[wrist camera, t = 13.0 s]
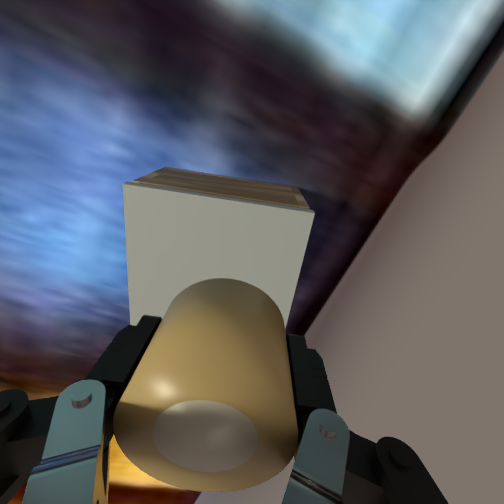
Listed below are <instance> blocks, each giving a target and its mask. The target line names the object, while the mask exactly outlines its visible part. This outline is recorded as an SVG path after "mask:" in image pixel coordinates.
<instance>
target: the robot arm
mask: <svg viewBox="0 0 504 504" xmlns="http://www.w3.org/2000/svg"><path fill="white" fill-rule="evenodd" d="M161 321H162V318H161V317H159V316H151V315H143V316H142V317H141V319H140V321H139V322H138V324H137V325H136V326H134V325H128V326H127V327H125V328H124V329H122V330H121V331H119V332H118V333H117V335H116V336H115V338H114V339H113V340H112V343H110V344H109V346H108V347H107V349H106V351H104V353H103V354H102V356H101V357H100V358H99V360H98V361H97V363H96V364H95V365H94V367H93V368H92V369H91V371H90V372H89V374H88V375H87V376H86V378H85V379H84V380H83V381H79V382H76V383H74V384H72V385H71V386H69V387H68V388H66V389H65V390H64V391H63V392H62V393H61V394H60V395H59V396H55V397H50V398H43V399H37V400H30V401H29V400H28V396H27V394H26V393H25V392H24V391H21V390H15V389H12V390H5V391H1V392H0V504H7V503H8V502H9V501H10V500H11V499H12V497H13V496H14V495H15V494H16V493H17V492H18V490H19V489H20V488H21V487H22V486H23V485H24V483H25V482H26V481H27V480H28V479H29V480H28V484H27V488H26V491H25V495H24V498H23V502H22V504H107V499H108V482H109V464H110V447H111V443H110V441H111V439H112V437H113V435H114V430H113V417H114V412H115V409H116V407H117V405H118V402H119V400H120V399H121V397H122V395H123V393H124V391H125V389H126V387H127V385H128V383H129V382H130V380H131V378H132V376H133V374H134V372H135V370H136V368H137V366H138V364H139V363H140V361H141V359H142V357H143V355H144V353H145V351H146V349H147V347H148V346H149V344H150V342H151V340H152V338H153V336H154V334H155V332H156V330H157V329H158V327H159V325H160V323H161ZM286 340H287V348H288V356H289V364H290V372H291V379H292V387H293V395H294V403H295V411H296V419H297V427H298V444H297V449H296V451H295V454H294V459H295V462H294V465H293V469H292V472H291V475H290V478H289V482H288V485H287V488H286V491H285V494H284V498H283V501H282V504H448V502H447V500H446V499H445V498H444V496H443V494H442V493H441V491H440V490H439V488H438V487H437V485H436V483H435V482H434V480H433V479H432V477H431V476H430V474H429V472H428V471H427V469H426V468H425V466H424V465H423V463H422V462H421V460H420V459H419V457H418V455H417V454H416V453H415V452H414V451H413V449H411V448H410V447H409V446H408V445H407V444H405V443H404V442H402V441H401V440H399V439H396V438H393V437H383V438H381V439H380V440H379V441H378V442H377V443H374V442H372V441H370V440H368V439H365V438H363V437H361V436H359V435H357V434H355V433H353V432H352V431H350V430H349V429H348V426H347V424H346V423H345V421H344V420H343V419H342V418H341V417H340V416H339V415H338V414H337V412H336V408H335V404H334V401H333V397H332V393H331V389H330V386H329V383H328V380H327V375H326V371H325V367H324V364H323V360H322V358H321V357H320V355H319V354H318V353H317V351H316V350H315V349H307V345H306V341H305V337H304V336H300V335H293V334H287V336H286Z"/></svg>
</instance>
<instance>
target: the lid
mask: <svg viewBox="0 0 504 504" xmlns="http://www.w3.org/2000/svg"><path fill="white" fill-rule="evenodd" d="M123 196H124V215H125V233H126V252H127V270H128V289H129V307H130V325H134V326H136V325H137V324H138V322H139V321H140V319H141V317H142V316H143V315H151V316H159V317H161V318H162V319H163V317H164V315H165V313H166V312H167V310H168V308H169V306H170V304H171V303H172V301H173V300H174V298H175V297H176V296H177V295H178V294H179V293H180V292H181V291H183V290H184V289H185V288H187V287H189V286H190V285H192V284H195V283H197V282H200V281H203V280H208V279H214V278H228V279H235V280H240V281H243V282H246V283H249V284H251V285H253V286H256V287H257V288H259V289H260V290H262V291H263V292H265V293H266V294H267V295H268V296H269V297H270V298H271V299H272V300H273V301H274V302H275V303H276V305H277V306H278V308H279V310H280V311H281V314H282V316H283V319H284V325H285V328H286V324H287V321H288V317H289V313H290V309H291V305H292V301H293V297H294V293H295V289H296V285H297V281H298V277H299V274H300V270H301V266H302V262H303V258H304V254H305V250H306V246H307V242H308V238H309V234H310V231H311V227H312V223H313V219H314V215H315V213H314V211H313V210H309V209H302V208H296V207H289V206H283V205H276V204H270V203H263V202H257V201H250V200H244V199H237V198H231V197H224V196H218V195H211V194H205V193H198V192H192V191H185V190H179V189H172V188H166V187H159V186H153V185H146V184H140V183H133V182H126V183H124V184H123Z"/></svg>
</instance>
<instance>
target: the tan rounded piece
mask: <svg viewBox="0 0 504 504" xmlns="http://www.w3.org/2000/svg"><path fill="white" fill-rule="evenodd" d="M113 430H114V435H115V438H116V441H117V443H118V445H119V447H120V448H121V450H122V452H123V453H124V454H125V455H126V457H127V458H128V459H129V460H130V461H131V462H132V463H133V464H134V465H136V466H137V467H138V468H139V469H141V470H142V471H143V472H145V473H147V474H148V475H150V476H152V477H154V478H156V479H158V480H160V481H162V482H164V483H167V484H170V485H173V486H176V487H179V488H184V489H188V490H194V491H201V492H229V491H236V490H242V489H246V488H250V487H253V486H256V485H259V484H261V483H263V482H265V481H267V480H269V479H271V478H272V477H274V476H276V475H277V474H278V473H279V472H281V471H282V470H283V469H284V468H285V467H286V466H287V465H288V463H289V462H290V461H291V459H292V457H293V456H294V454H295V451H296V449H297V444H298V427H297V419H296V411H295V403H294V395H293V387H292V379H291V372H290V364H289V356H288V348H287V340H286V332H285V325H284V319H283V316H282V314H281V311H280V310H279V308H278V306H277V305H276V303H275V302H274V301H273V300H272V299H271V298H270V297H269V296H268V295H267V294H266V293H265V292H263V291H262V290H260V289H259V288H257V287H256V286H253V285H251V284H249V283H246V282H243V281H240V280H235V279H228V278H214V279H208V280H203V281H200V282H197V283H195V284H192V285H190V286H189V287H187V288H185V289H184V290H183V291H181V292H180V293H179V294H178V295H177V296H176V297H175V298H174V300H173V301H172V303H171V304H170V306H169V308H168V310H167V312H166V313H165V315H164V317H163V319H162V321H161V323H160V325H159V327H158V329H157V330H156V332H155V334H154V336H153V338H152V340H151V342H150V344H149V346H148V347H147V349H146V351H145V353H144V355H143V357H142V359H141V361H140V363H139V364H138V366H137V368H136V370H135V372H134V374H133V376H132V378H131V380H130V382H129V383H128V385H127V387H126V389H125V391H124V393H123V395H122V397H121V399H120V400H119V402H118V405H117V407H116V409H115V412H114V417H113Z"/></svg>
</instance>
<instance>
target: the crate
mask: <svg viewBox="0 0 504 504" xmlns="http://www.w3.org/2000/svg"><path fill="white" fill-rule="evenodd" d="M133 183H140V184H146V185H153V186H159V187H166V188H172V189H179V190H185V191H192V192H198V193H205V194H211V195H218V196H224V197H231V198H237V199H244V200H250V201H257V202H263V203H270V204H276V205H283V206H289V207H296V208H302V209H309V206H308V204H307V202H306V201H305V199H304V197H303V196H302V194H301V192H300V191H299V189H298V188H297V187H291V186H285V185H278V184H272V183H265V182H259V181H253V180H246V179H240V178H233V177H227V176H221V175H214V174H208V173H201V172H195V171H188V170H182V169H176V168H169V167H164V168H162V169H159V170H157V171H155V172H152V173H150V174H148V175H145V176H143V177H140V178H138V179H136V180H133Z"/></svg>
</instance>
